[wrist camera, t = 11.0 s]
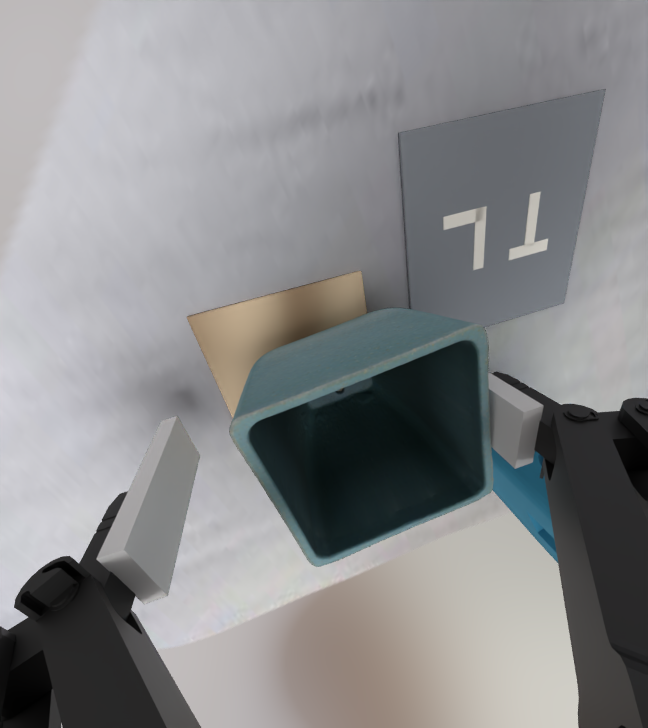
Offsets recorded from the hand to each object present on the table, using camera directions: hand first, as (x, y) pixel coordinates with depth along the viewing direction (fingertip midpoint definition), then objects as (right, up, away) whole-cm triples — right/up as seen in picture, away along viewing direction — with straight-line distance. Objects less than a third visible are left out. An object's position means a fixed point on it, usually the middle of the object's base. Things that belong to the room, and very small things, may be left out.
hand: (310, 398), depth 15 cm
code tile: (+11, +10, +2) cm, 15 cm away
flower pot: (+1, +2, +4) cm, 4 cm away
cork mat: (-1, +2, +3) cm, 4 cm away
